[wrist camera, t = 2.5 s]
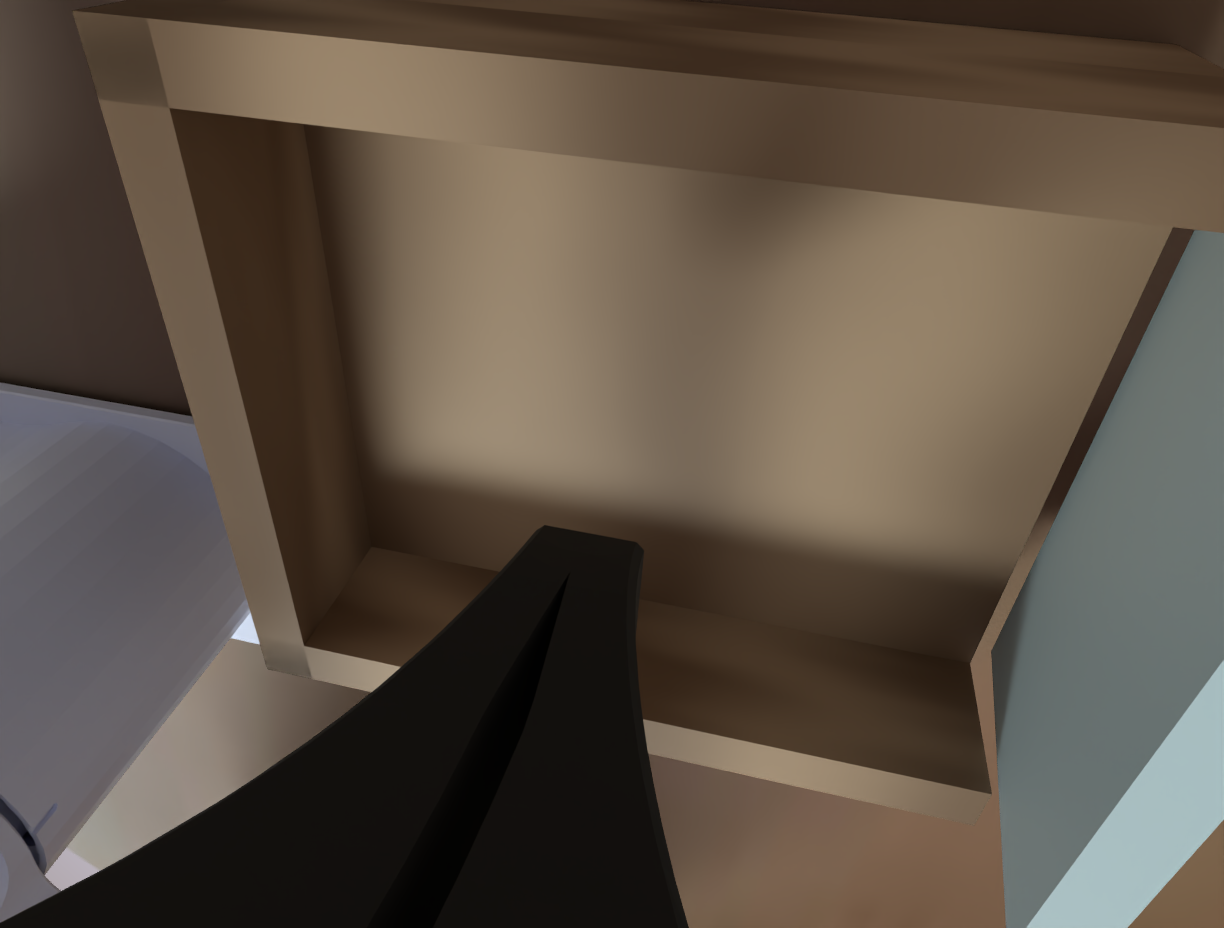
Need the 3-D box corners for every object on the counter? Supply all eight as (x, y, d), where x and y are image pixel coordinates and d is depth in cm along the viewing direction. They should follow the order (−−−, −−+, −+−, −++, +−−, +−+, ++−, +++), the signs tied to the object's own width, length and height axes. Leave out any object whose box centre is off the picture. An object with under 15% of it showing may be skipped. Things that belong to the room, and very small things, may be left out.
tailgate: (990, 637, 17) (1007, 953, 12) (1205, 183, 11) (1400, 420, 6) (1042, 650, 17) (1081, 978, 12) (1287, 194, 11) (1552, 449, 6)
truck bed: (382, 505, 21) (267, 668, 17) (304, -33, 14) (71, 10, 10) (942, 610, 19) (974, 826, 15) (1176, 44, 12) (1364, 142, 8)
